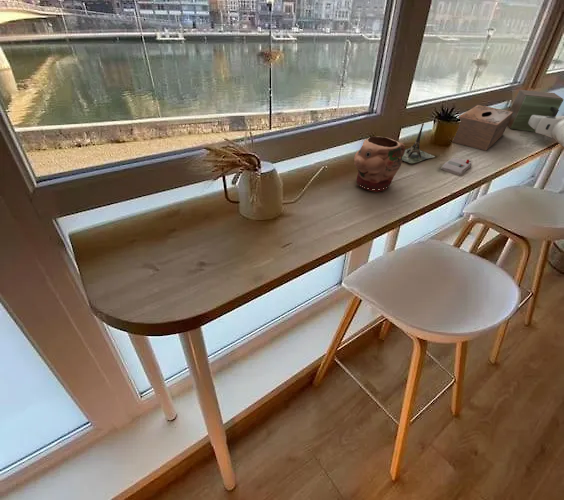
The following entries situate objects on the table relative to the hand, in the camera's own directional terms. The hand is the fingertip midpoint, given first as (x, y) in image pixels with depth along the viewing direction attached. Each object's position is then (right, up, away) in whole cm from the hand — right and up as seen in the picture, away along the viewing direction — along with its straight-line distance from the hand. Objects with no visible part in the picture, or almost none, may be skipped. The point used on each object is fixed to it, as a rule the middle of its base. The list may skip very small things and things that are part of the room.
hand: (551, 118), depth 142 cm
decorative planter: (-88, -37, -38) cm, 103 cm away
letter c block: (-4, -4, +7) cm, 9 cm away
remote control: (-56, -28, -26) cm, 68 cm away
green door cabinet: (-2, +1, +14) cm, 14 cm away
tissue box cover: (-34, -9, -1) cm, 35 cm away
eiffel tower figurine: (-69, -23, -20) cm, 75 cm away
